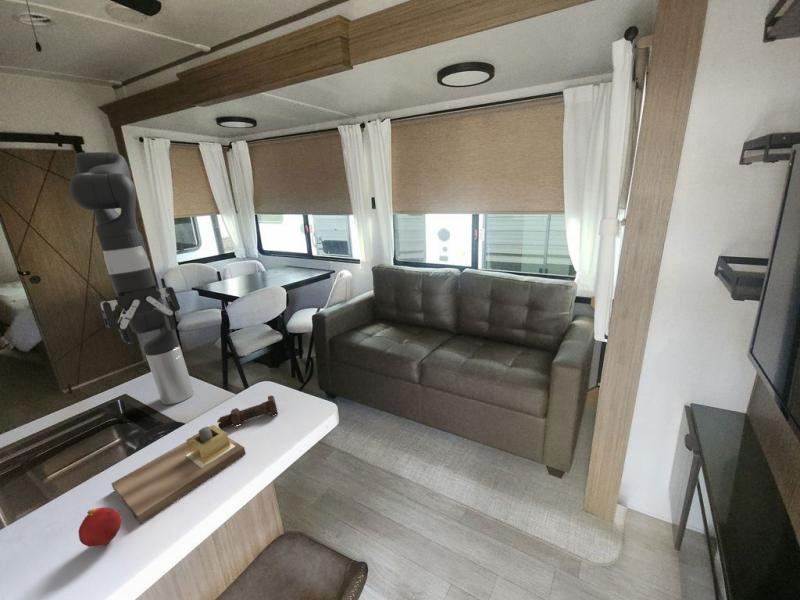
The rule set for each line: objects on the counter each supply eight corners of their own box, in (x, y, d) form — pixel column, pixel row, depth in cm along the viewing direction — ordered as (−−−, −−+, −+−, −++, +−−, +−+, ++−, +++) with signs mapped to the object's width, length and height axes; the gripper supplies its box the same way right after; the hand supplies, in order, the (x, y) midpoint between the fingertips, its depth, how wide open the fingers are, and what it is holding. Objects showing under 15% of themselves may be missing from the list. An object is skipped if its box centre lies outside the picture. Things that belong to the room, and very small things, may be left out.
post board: (114, 490, 77) (101, 460, 75) (213, 433, 94) (205, 407, 92) (140, 524, 68) (127, 490, 65) (245, 454, 84) (238, 425, 82)
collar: (190, 454, 83) (186, 440, 82) (217, 438, 88) (213, 424, 87) (203, 463, 79) (198, 449, 78) (230, 446, 84) (226, 432, 83)
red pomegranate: (105, 529, 67) (91, 495, 65) (134, 527, 67) (120, 493, 65) (78, 559, 62) (61, 523, 60) (109, 557, 61) (93, 521, 59)
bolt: (222, 433, 97) (278, 414, 102) (219, 435, 92) (277, 414, 97) (218, 412, 98) (273, 395, 103) (214, 413, 93) (272, 394, 98)
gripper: (158, 262, 85) (177, 324, 90) (84, 275, 75) (109, 345, 79) (171, 262, 81) (190, 328, 85) (94, 276, 70) (120, 351, 75)
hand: (151, 336), depth 82 cm, fingers open, 8 cm apart
